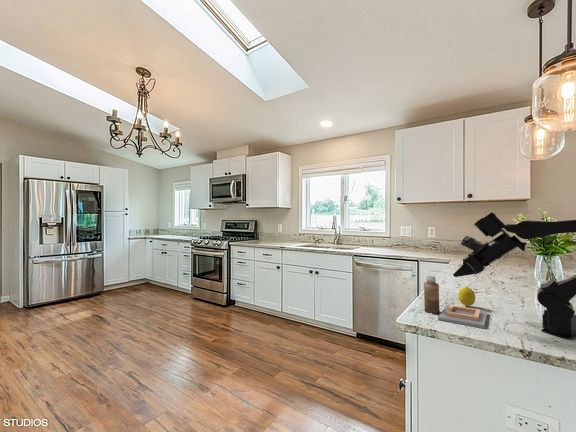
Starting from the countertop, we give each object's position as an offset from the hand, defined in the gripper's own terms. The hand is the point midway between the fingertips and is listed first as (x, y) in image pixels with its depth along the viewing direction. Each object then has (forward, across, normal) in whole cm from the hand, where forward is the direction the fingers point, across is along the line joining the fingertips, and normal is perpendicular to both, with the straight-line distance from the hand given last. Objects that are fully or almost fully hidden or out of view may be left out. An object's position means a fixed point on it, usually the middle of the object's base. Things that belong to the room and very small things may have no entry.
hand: (456, 273), depth 100 cm
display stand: (+8, +2, +13) cm, 15 cm away
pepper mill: (+16, +2, +6) cm, 17 cm away
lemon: (+9, -12, +12) cm, 19 cm away
